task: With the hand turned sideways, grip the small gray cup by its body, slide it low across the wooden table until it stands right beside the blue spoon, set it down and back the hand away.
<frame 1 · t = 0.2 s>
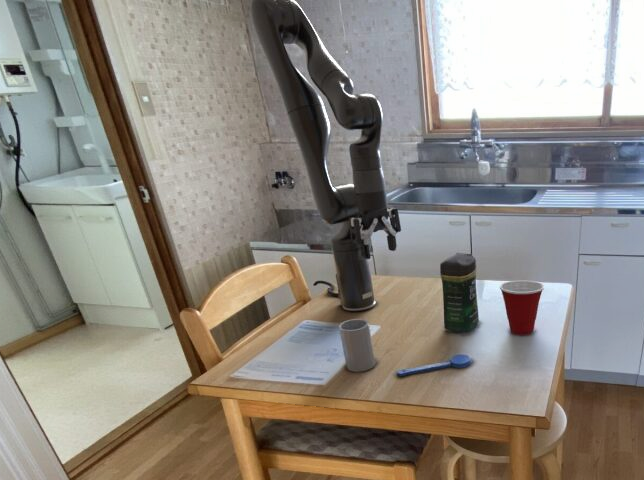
hand: (379, 254, 133), 17 cm above the table, tool pointing down, fingers open, 8 cm apart
spoon: (437, 367, 115), on the table
plastic cup: (522, 330, 130), on the table
coffee jar: (462, 327, 134), on the table
gray cup: (361, 364, 118), on the table
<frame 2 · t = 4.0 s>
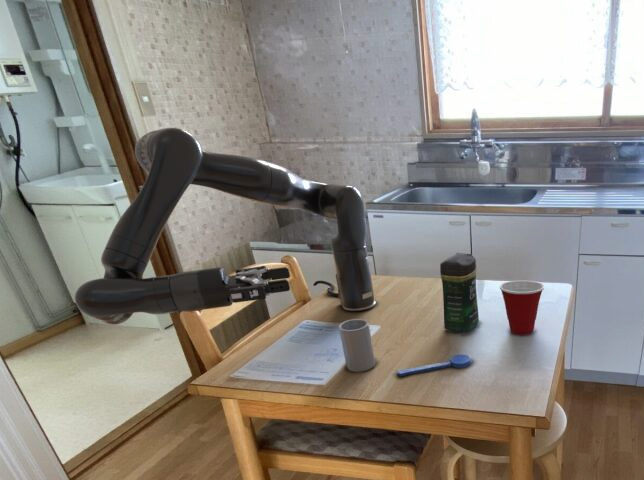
hand: (289, 278, 104), 22 cm above the table, tool horizontal, fingers open, 8 cm apart
nothing on the table moved.
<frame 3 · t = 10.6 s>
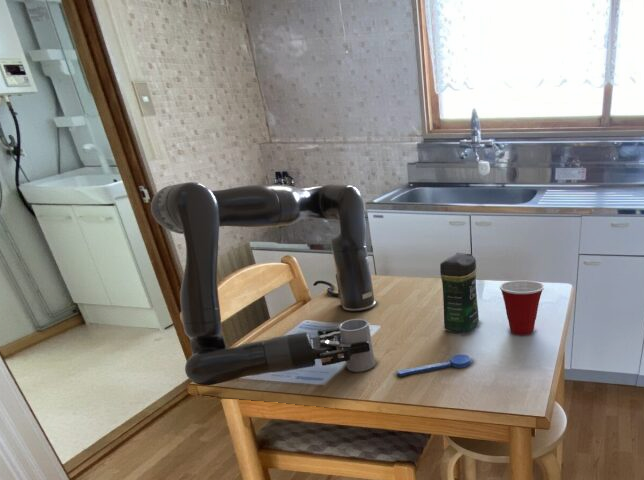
hand: (367, 339, 115), 6 cm above the table, tool horizontal, fingers closed on gray cup, 6 cm apart
gray cup: (361, 364, 118), on the table, touching gripper
everything else where it was.
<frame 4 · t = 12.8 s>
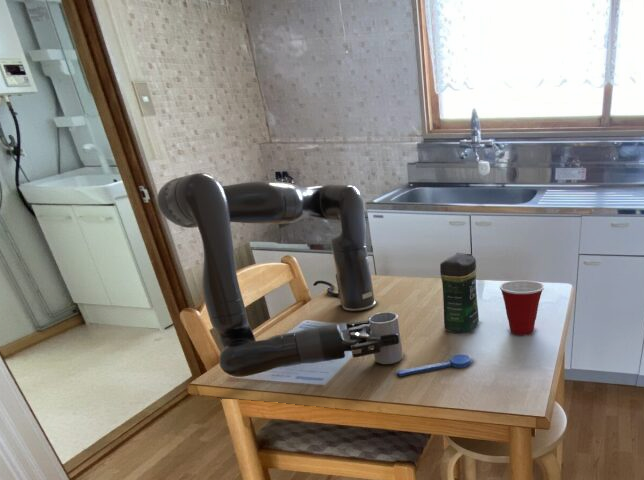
hand: (395, 332, 117), 7 cm above the table, tool horizontal, fingers closed on gray cup, 6 cm apart
gray cup: (389, 357, 119), point 1 cm above the table, touching gripper
everything else where it was.
when the fingers open (6 cm above the table, at t = 15.5 s): gray cup stays where it is, on the table.
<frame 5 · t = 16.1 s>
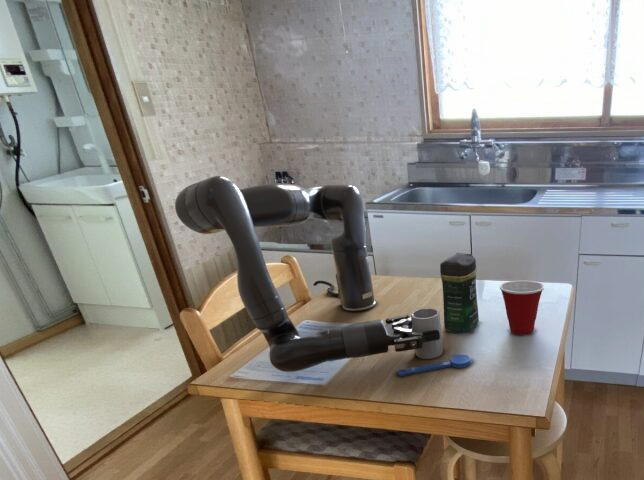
hand: (435, 327, 119), 6 cm above the table, tool horizontal, fingers open, 8 cm apart
gray cup: (429, 352, 122), on the table
everything else where it was.
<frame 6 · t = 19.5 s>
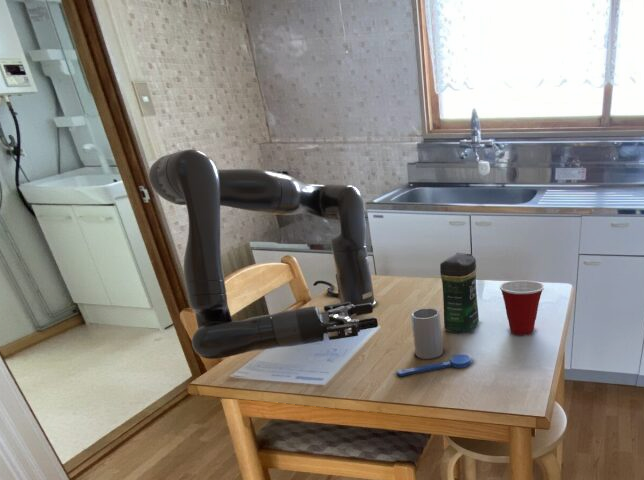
hand: (374, 314, 113), 12 cm above the table, tool horizontal, fingers open, 8 cm apart
nothing on the table moved.
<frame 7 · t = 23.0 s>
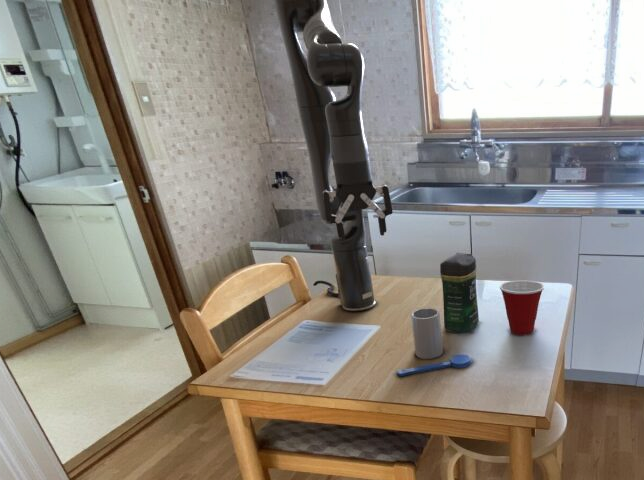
hand: (363, 237, 115), 26 cm above the table, tool pointing down, fingers open, 8 cm apart
nothing on the table moved.
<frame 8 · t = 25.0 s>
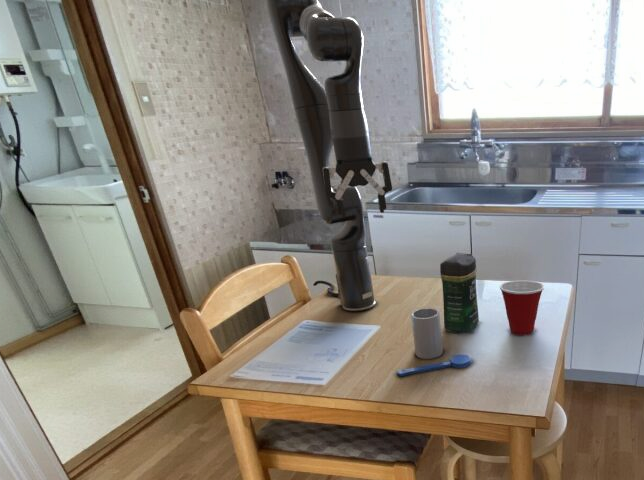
hand: (362, 214, 116), 30 cm above the table, tool pointing down, fingers open, 8 cm apart
nothing on the table moved.
at the end: gray cup 7.9 cm from the spoon (horizontally); gray cup tilted 0°; the gripper is holding nothing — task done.
